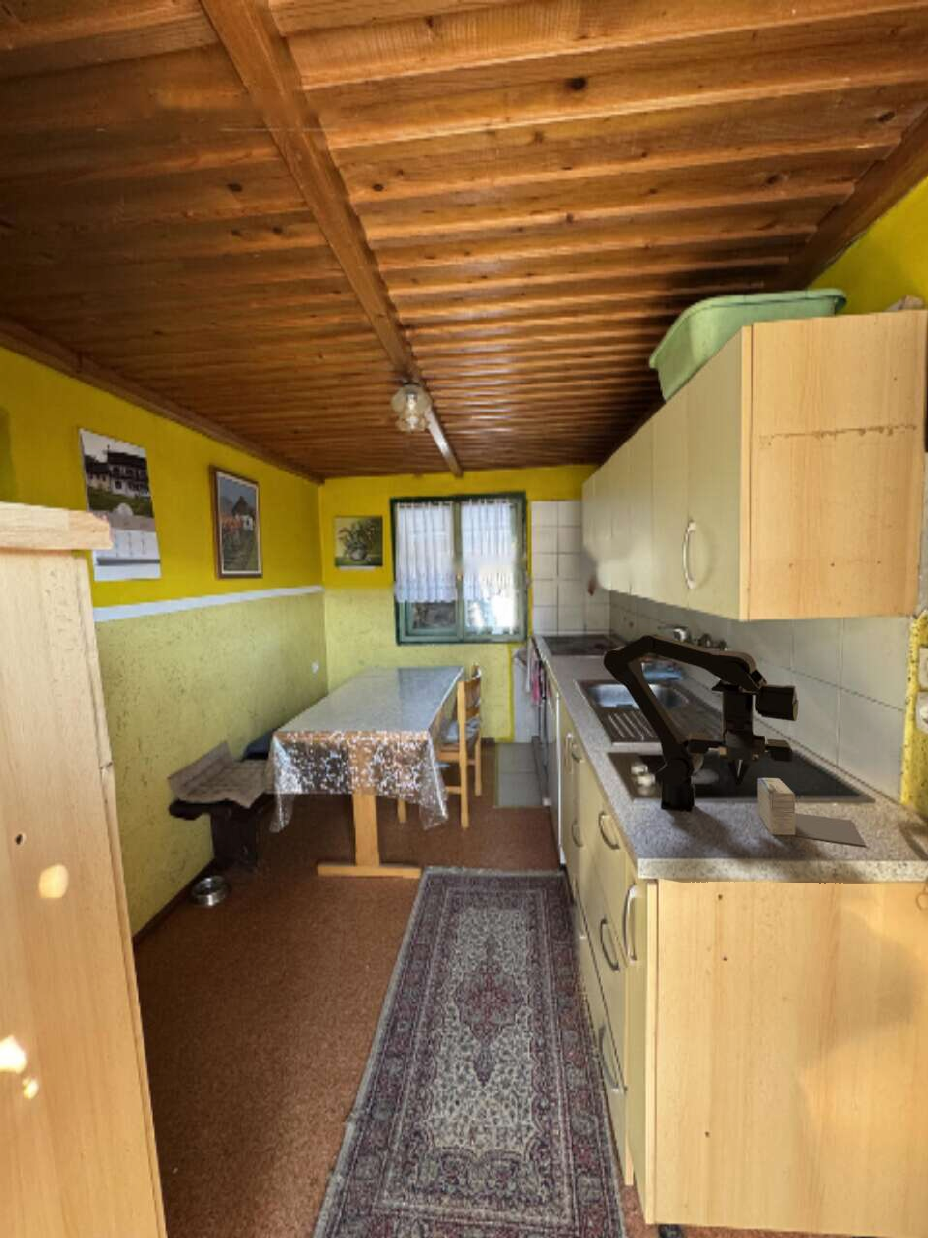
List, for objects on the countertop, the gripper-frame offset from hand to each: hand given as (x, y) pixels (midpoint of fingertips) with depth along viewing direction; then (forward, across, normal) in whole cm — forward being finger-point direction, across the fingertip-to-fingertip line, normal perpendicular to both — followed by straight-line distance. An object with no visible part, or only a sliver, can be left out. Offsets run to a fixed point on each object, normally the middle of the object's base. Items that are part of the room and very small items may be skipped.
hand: (737, 785), depth 106 cm
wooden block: (+8, +7, 0) cm, 10 cm away
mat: (+8, +16, +2) cm, 17 cm away
